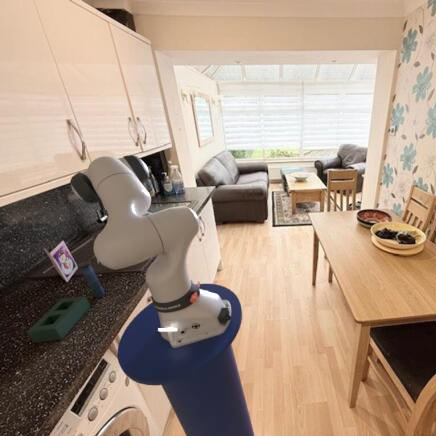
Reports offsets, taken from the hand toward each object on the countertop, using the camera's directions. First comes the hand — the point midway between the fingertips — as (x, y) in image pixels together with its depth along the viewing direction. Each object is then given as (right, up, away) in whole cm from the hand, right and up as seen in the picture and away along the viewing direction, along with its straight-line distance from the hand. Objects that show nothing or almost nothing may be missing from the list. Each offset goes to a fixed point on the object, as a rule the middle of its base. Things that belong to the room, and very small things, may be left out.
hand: (109, 262), depth 99 cm
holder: (-3, -18, -17) cm, 25 cm away
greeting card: (-26, -8, +8) cm, 28 cm away
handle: (0, -12, -5) cm, 13 cm away
